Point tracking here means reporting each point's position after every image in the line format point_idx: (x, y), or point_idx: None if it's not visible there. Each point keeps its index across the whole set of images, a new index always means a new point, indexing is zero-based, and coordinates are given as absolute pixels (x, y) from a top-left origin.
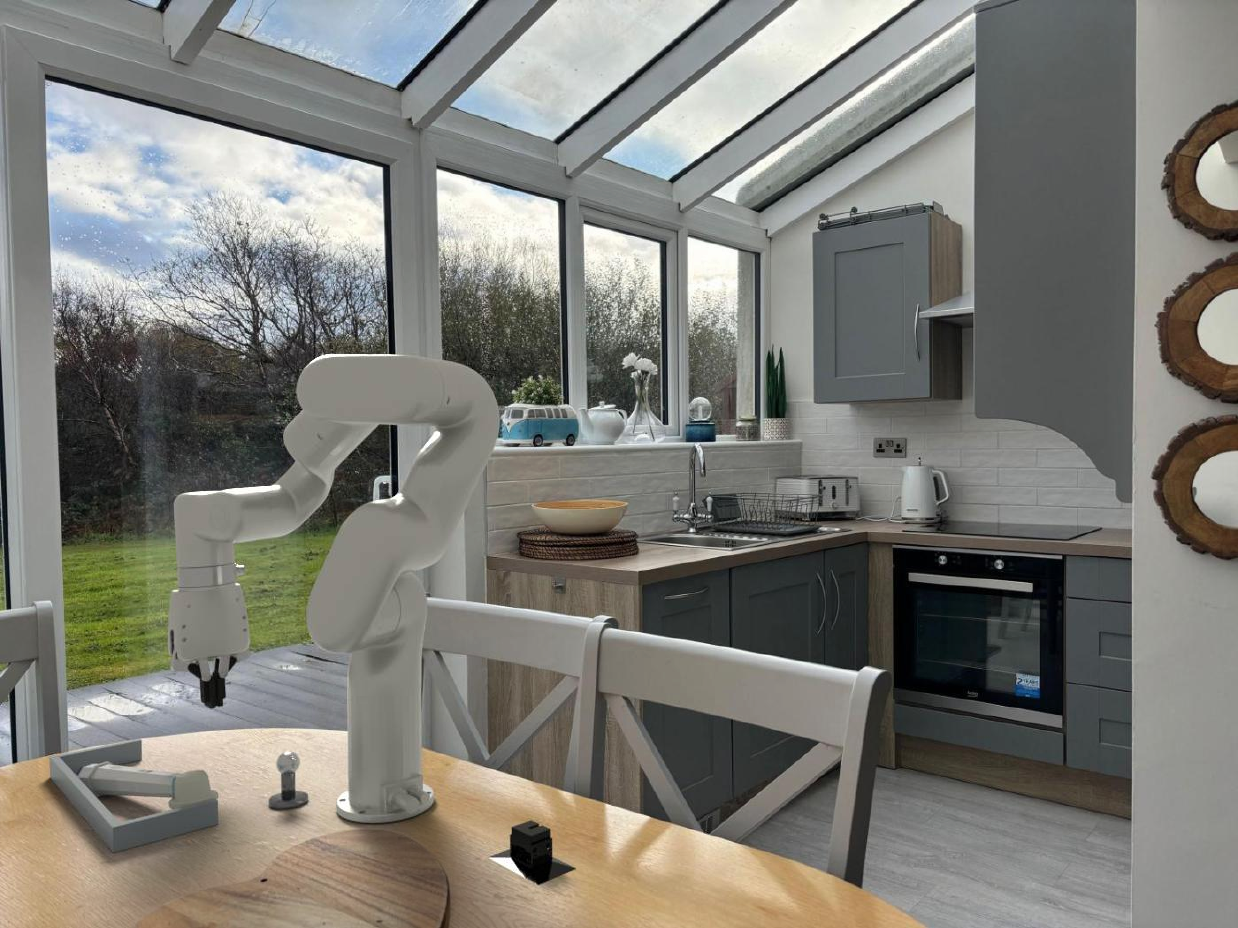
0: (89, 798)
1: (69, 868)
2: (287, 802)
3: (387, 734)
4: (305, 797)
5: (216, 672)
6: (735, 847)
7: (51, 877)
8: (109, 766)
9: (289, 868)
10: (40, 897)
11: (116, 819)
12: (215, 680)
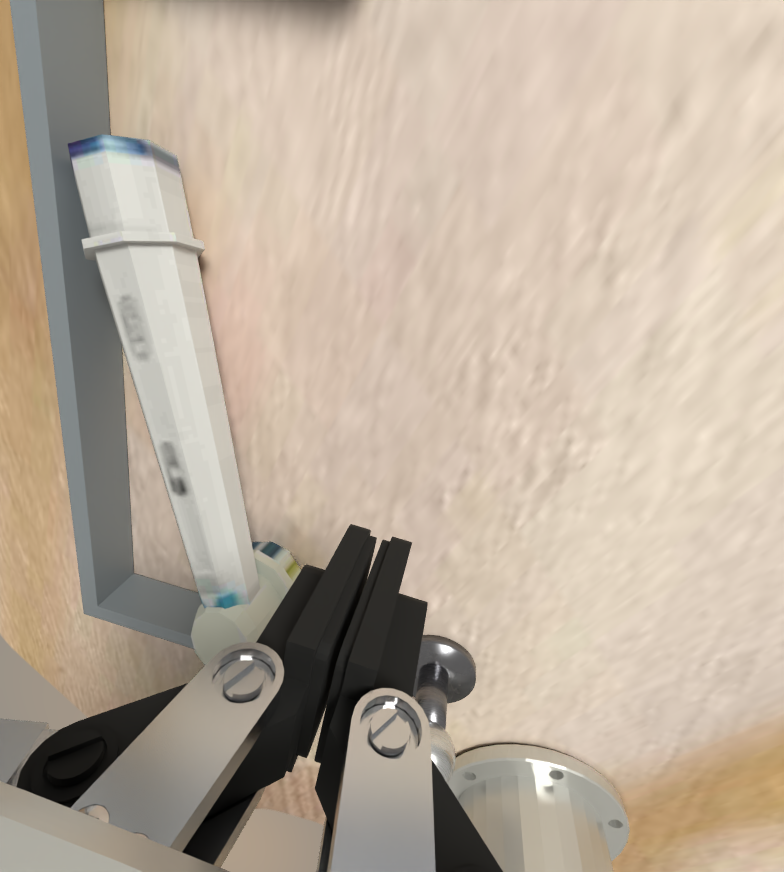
0: (67, 437)
1: (60, 571)
2: (415, 686)
3: None
4: (454, 698)
5: (327, 789)
6: None
7: (36, 576)
8: (123, 285)
9: (284, 795)
10: (22, 614)
11: (95, 590)
12: (317, 749)
